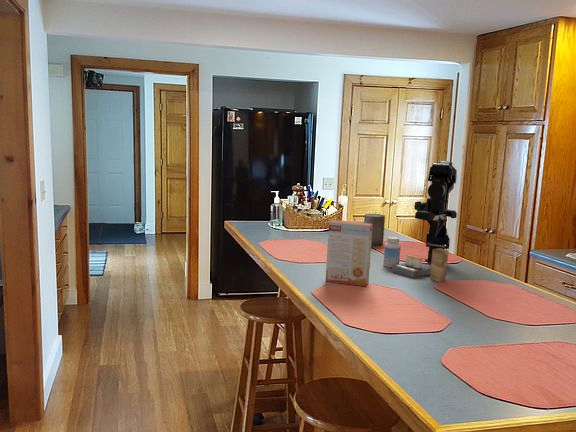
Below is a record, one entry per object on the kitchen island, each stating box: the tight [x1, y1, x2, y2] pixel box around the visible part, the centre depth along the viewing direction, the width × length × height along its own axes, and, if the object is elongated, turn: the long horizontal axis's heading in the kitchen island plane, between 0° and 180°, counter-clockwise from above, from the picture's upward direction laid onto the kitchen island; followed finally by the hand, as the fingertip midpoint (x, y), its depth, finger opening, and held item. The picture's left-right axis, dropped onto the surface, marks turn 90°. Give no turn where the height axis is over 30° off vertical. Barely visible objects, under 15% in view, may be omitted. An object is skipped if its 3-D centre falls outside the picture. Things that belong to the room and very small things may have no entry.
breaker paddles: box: [404, 254, 424, 268], centre depth 196 cm, size 2×7×4 cm, turn 38°
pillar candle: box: [363, 212, 386, 246], centre depth 249 cm, size 10×10×15 cm
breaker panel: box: [391, 262, 431, 279], centre depth 197 cm, size 12×10×3 cm
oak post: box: [429, 248, 450, 283], centre depth 189 cm, size 4×4×11 cm
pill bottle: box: [382, 236, 401, 268], centre depth 206 cm, size 6×6×11 cm
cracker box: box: [325, 219, 373, 287], centre depth 178 cm, size 14×6×21 cm, turn 71°
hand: (434, 236), depth 202 cm, fingers closed
